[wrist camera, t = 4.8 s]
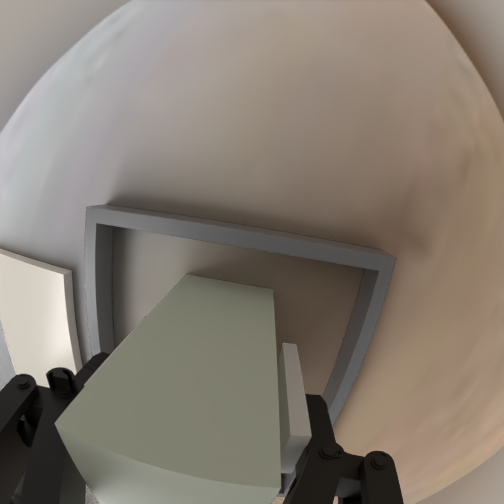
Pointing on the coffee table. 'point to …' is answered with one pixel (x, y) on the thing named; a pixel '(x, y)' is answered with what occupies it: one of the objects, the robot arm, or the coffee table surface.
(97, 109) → the coffee table surface
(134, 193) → the coffee table surface
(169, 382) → the sage box
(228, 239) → the grey rectangular frame
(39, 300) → the tile
